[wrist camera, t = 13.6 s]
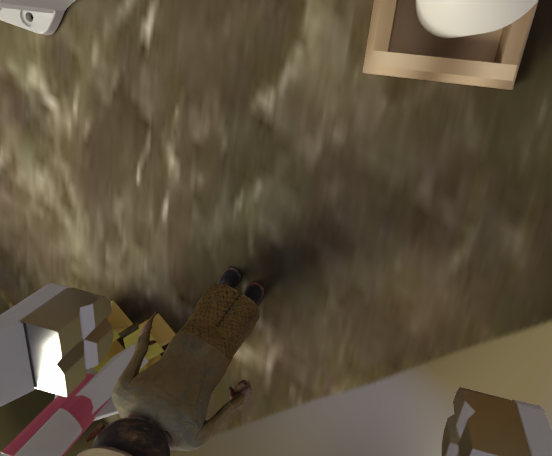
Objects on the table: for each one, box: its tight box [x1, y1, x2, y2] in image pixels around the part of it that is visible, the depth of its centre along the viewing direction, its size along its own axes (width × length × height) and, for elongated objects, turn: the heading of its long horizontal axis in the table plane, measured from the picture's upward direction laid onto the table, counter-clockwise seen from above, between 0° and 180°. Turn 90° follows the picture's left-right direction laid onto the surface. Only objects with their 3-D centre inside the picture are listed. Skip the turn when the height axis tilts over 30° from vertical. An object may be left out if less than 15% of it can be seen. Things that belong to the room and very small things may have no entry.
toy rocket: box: [2, 300, 176, 456], centre depth 42 cm, size 12×12×30 cm
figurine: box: [77, 267, 264, 456], centre depth 35 cm, size 11×9×30 cm
